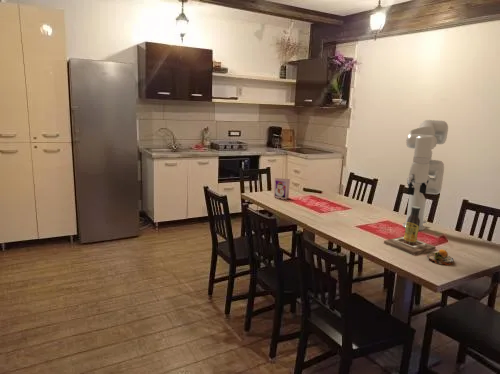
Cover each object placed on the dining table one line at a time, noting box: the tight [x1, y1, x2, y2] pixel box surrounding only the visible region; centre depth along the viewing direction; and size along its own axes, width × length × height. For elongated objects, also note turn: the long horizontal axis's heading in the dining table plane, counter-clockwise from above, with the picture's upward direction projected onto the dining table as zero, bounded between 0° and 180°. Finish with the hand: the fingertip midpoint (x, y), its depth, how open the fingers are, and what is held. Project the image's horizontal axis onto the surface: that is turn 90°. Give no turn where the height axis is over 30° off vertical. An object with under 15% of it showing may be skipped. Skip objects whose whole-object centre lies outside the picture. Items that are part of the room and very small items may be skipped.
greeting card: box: [273, 177, 291, 200], centre depth 291 cm, size 11×7×15 cm, turn 53°
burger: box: [426, 248, 454, 266], centre depth 183 cm, size 12×12×8 cm
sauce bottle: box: [403, 206, 420, 245], centre depth 198 cm, size 7×6×20 cm
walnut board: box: [383, 236, 436, 256], centre depth 200 cm, size 18×18×2 cm
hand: (416, 193), depth 195 cm, fingers open, 9 cm apart
